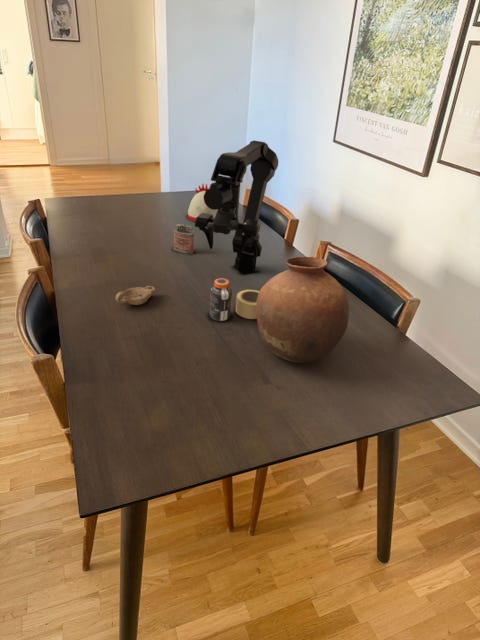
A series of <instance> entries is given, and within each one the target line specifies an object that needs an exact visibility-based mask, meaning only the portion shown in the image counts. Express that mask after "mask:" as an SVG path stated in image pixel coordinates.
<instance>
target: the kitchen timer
mask: <svg viewBox="0 0 480 640" xmlns="http://www.w3.org/2000/svg"><path fill="white" fill-rule="evenodd" d="M209 188H211V184H210V185H209V187H208V184H207V183H205V185H204V183H202V185H201V186H200V185H198V189H197V188H196V187H195V192H196V193H195V195H194V196H193V197H192V199H191V201H190V204H189V207H188V210H187V218H188V220H190V221H192V222H195V218H196V217H197V216H198V215H199V214H201V213H207V214H212V215H213V218H215V216H216V214H217V211H218V209H216V210H212V209H210V208H208V207H207V206H206V204H205V202H204V194H205V192H206V190H208V189H209Z"/></svg>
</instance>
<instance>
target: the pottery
mask: <svg viewBox="0 0 480 640" xmlns="http://www.w3.org/2000/svg"><path fill="white" fill-rule="evenodd" d="M285 265H286V266H287V267H288V269H286V270H284V271H281V272H279V273H277V274H276V275H274V276H273V277H271V278H270V279H269V280H268V281H266V282H265V283H264V285H263V286H262V287H260V290H259V291H260V292H259V294H258V297H257V303H256V312H257V319H256V321H257V329H258V332H259V336H260V338H261V340H262V342H263V344H264V345H265V347H266V349H267V350H268V351H269V352H270V353H272V354H273V355H275V356H277V357H279V358H281V359H282V360H286V361H288V362H292V363H295V364H296V363H297V364H307V363H313V362H316V361H319V360H321V359H322V358H324V357H326V356H327V355H329V354H330V353H332V351H333V350H334V349H335V348H336V346H337V345H338V344H339V343H340V341H341V340H342V339H343V337H344V335H345V334H346V331H347V328H348V325H349V315H350V309H349V308H350V307H349V299H348V296H347V293H346V290H344V288H343V286H342V285H341V283H340V282H338V280H337V279H336V278H334V277H333V275H331V274H329V273H328V272H326V271H325V270H324V269H325V268H326V267H327V266H328V265H329V263H328V261H327V260H325V259H324V258H321V257H314V256H294V257H289V258H287V260H286V261H285Z"/></svg>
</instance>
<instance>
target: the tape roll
mask: <svg viewBox="0 0 480 640" xmlns="http://www.w3.org/2000/svg"><path fill="white" fill-rule="evenodd" d="M259 292H260V290H256V289H243V290H241V291H239V292H238V293H237V294H236V301H235V313H236V314H237V315H238V316H240V317H241V318H243V319H249V320H257V312H256V303H257V297H258V294H259Z"/></svg>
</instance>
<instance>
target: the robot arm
mask: <svg viewBox="0 0 480 640" xmlns="http://www.w3.org/2000/svg"><path fill="white" fill-rule="evenodd" d="M249 165H250V173H251V177H252V181H251V186H250V191H249V195H248V200H247V204H246V209H245V213H244V217H243V221H242V222H241V221H240V220H239V207H240V196H241V184H242V183H243V182H244V181H243V179H244V177H245V175H246V173H247V169H248V166H249ZM278 167H279V158H278V155H277V153H276V152H275V151H274V150H273V149H271V148H270V147H269V145H268V143H266V142H265V141H261V140H256V139H255V140H250V142H249V143H248V144H246V145H245V146H244V147H242V148H240V149H238V150H237V151H235V152H223V153H221V154H220V155H219V157H218V158H217V160H216V163H215V166H214V168H213V171H212V175H211V178H210V181H212V182H211V184H210V185H211V188H209V187H208V190H206V192H205V194H204V202H205V204H206V206H207V207H208V208H210V209H212V210H216V209H218V211H217V214H216V216H215V218H213V215H212V214H207V213H201V214H199V215H198V216H197V217H196V218H195V221H194V227H195V228H198V229H199V231H202V232H203V233H204V235H205V238H206V240H207V243H208V246H209V249H210V250H212V249H213V247H214V233H215V234H223V235H229V234H230V233H231V231H235V232H234V236H233V237H232V240H231V245H232V252H233V253H236V256H235V259H234V265H233V268H234V269H235V270H236V271H238V272H239V273H240V274H241V275H245V274H250V273H257V272H259V270H258V268H256V266H257V258H260V257H261V253H262V249H263V247H262V245H261V243H260V231H261V223H260V221H259V219H260V215H261V211H262V206H263V202H264V199H265V193H266V190H267V185H268V183H269V182H270V181H271V180H272V179H273V178H274V176H275V173H276V171H277V169H278ZM239 221H240V222H239Z"/></svg>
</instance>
